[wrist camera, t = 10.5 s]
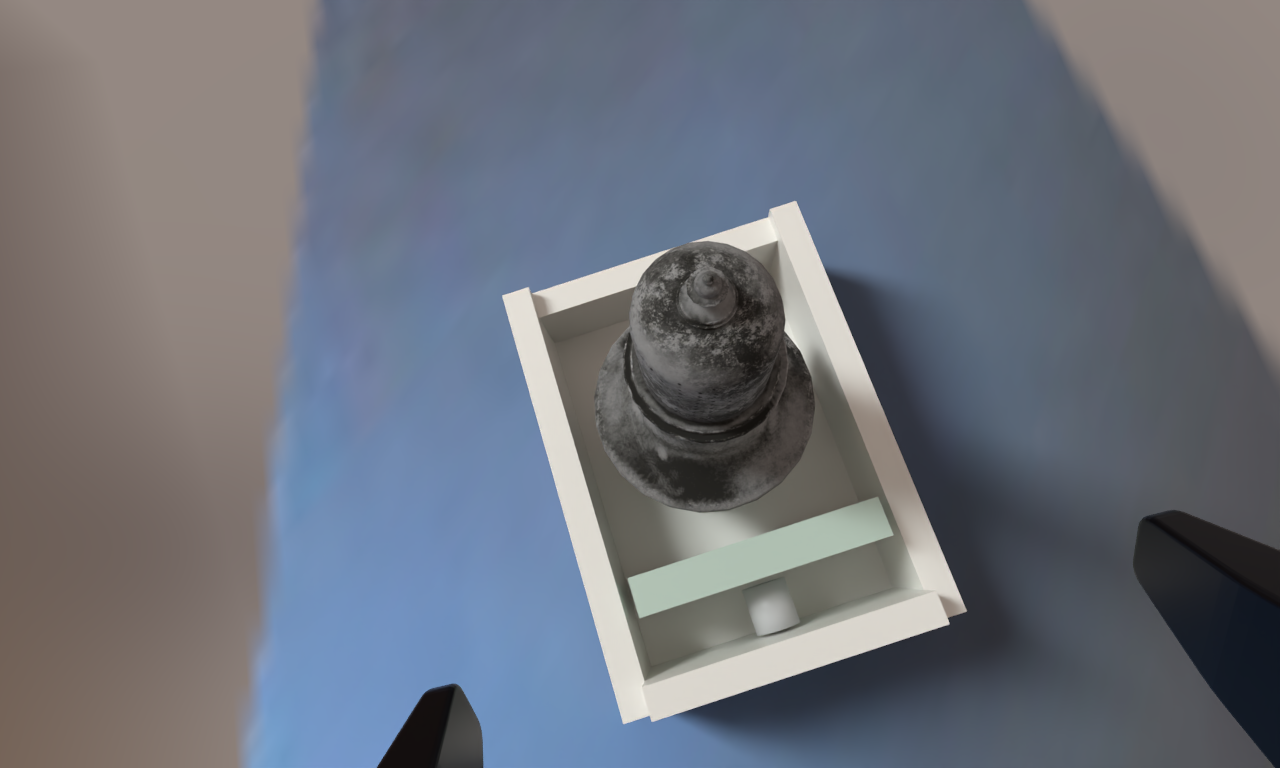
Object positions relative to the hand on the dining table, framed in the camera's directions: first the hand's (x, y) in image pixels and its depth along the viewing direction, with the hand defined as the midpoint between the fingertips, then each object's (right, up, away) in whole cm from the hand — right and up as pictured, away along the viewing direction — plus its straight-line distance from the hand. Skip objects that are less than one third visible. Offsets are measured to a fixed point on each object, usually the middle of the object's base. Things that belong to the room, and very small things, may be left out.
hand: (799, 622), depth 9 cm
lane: (0, +1, +14) cm, 14 cm away
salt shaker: (0, +2, +14) cm, 14 cm away
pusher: (+1, -2, +12) cm, 12 cm away
